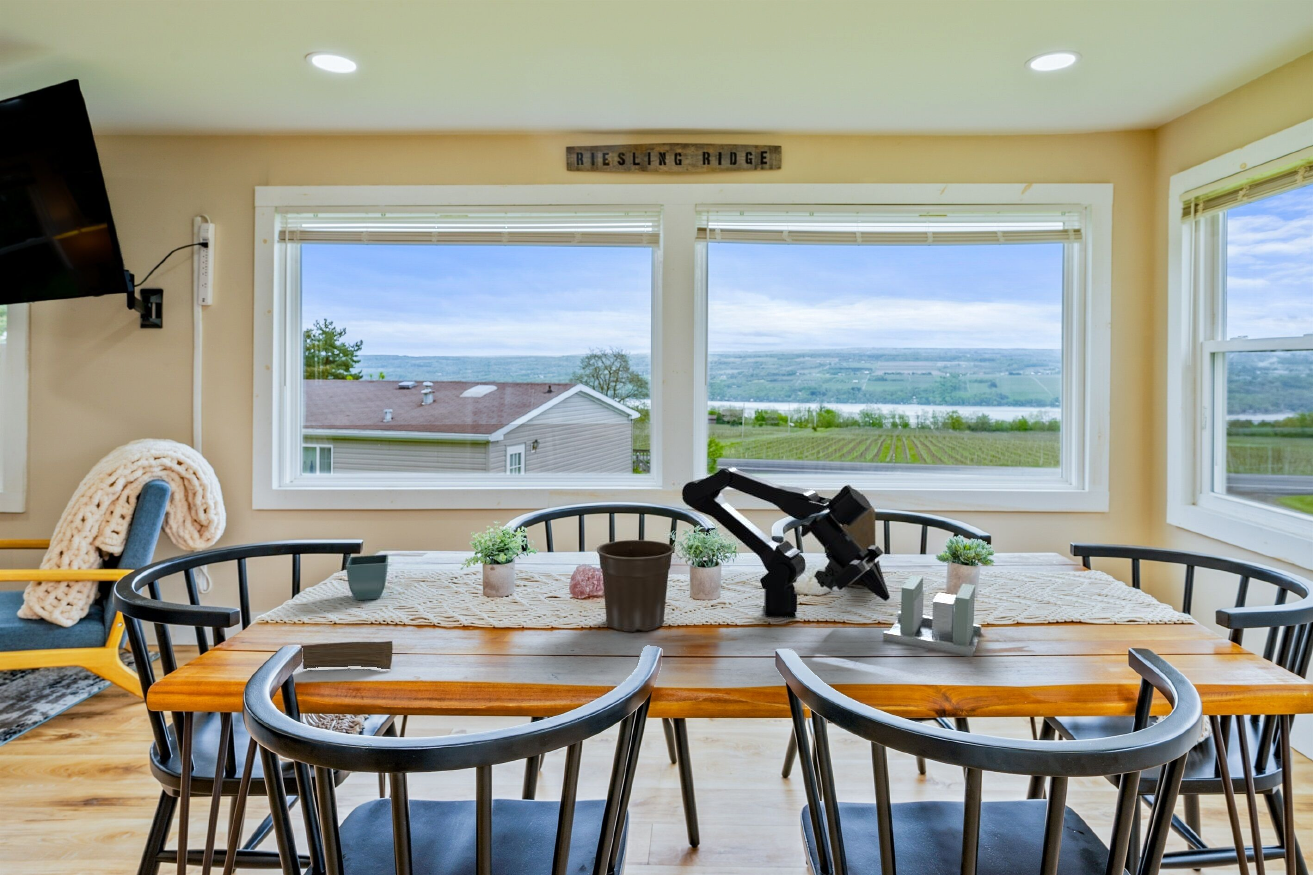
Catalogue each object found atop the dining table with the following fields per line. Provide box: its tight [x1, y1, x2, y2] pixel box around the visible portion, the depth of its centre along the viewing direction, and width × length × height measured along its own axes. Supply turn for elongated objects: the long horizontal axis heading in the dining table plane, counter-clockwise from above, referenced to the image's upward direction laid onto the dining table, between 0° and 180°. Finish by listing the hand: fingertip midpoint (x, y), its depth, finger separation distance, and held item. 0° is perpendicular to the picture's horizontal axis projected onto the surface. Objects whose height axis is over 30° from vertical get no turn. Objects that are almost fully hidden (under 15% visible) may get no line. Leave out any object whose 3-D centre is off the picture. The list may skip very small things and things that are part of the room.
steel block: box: [931, 592, 957, 643], centre depth 139 cm, size 4×6×8 cm, turn 150°
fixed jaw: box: [953, 583, 976, 646], centre depth 138 cm, size 2×10×10 cm, turn 150°
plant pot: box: [596, 539, 675, 633], centre depth 150 cm, size 16×16×16 cm
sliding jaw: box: [900, 574, 925, 636], centre depth 142 cm, size 2×10×10 cm, turn 150°
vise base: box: [882, 611, 982, 658], centre depth 141 cm, size 16×15×2 cm
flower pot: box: [345, 554, 389, 601], centre depth 167 cm, size 9×9×9 cm
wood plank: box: [300, 640, 394, 670], centre depth 126 cm, size 15×2×5 cm, turn 95°
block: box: [841, 505, 877, 589], centre depth 179 cm, size 11×8×20 cm
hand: (887, 599), depth 145 cm, fingers closed
